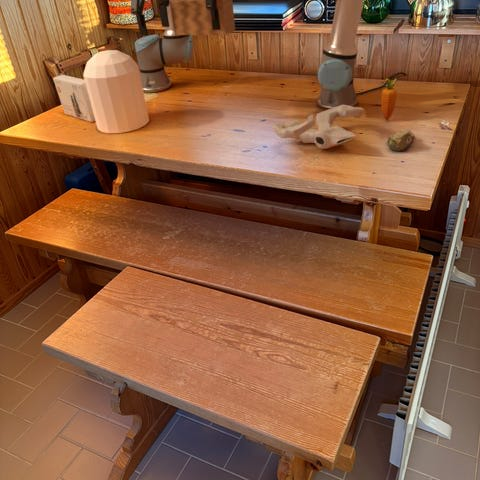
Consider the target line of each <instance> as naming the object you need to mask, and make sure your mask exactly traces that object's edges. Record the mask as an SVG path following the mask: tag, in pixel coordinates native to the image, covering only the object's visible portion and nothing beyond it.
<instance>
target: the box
mask: <svg viewBox="0 0 480 480" xmlns="http://www.w3.org/2000/svg"><path fill="white" fill-rule="evenodd" d="M170 7H171V13H172V19H173V25H174V31H175V35H192V36H226V35H228V34H232V33H233V32H235V31H236V24H235V22H236V21H235V14H234V13H235V12H234V2H233V0H217V8H216V9H218V14H219V22H220V30H213V28H212V20H211V12H210V10H207V8H206V0H174V1H171V2H170Z"/></svg>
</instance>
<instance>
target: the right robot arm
mask: <svg viewBox="0 0 480 480" xmlns="http://www.w3.org/2000/svg"><path fill="white" fill-rule="evenodd" d="M364 2H365V0H336V2H335V8H334V15H333V20H332V23H331V24H332V26H331V30H330V35H329V40H328V43H325V44H324V46H323V49H322V52H321V53H322V54H321V60H320V64H319V68H318V70H317V80H318V83H319V85H320V86H321V89H320V92H319V95H318V98H317V106H318V107H319V108H320V109H323V110H325V111H326V110H329V109H332V108H334V107H338V106H341V105H348V106H352V107H357V105H358V97H357V96H359V95H363V94H366V93H369V92H373V91H376V90H380V89H382V88H385V87H386V85H387V83H386V82H385V83H384V84H383V85H380V86H377V87H374V88H371V89H368V90H363V91H360V92H356V90H355V85H354V77H355V63H356V59H357V53H358V50H357V49H356V44H355V43H356V38H357V35H358V31H359V30H358V29H359V25H360V20H361V16H362V11H363V6H364ZM206 8H207V10H210V12H211V20H212V28H213V30H220V22H219V14H218V9H216V8H217V0H206ZM399 75H403V76H407V74H406V73H405V72H397V73H394V74H393V75H390V76H388V77H387V79H390V80H391V79H392V78H394V77H396V76H399Z"/></svg>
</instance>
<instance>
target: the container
mask: <svg viewBox="0 0 480 480" xmlns="http://www.w3.org/2000/svg"><path fill="white" fill-rule="evenodd" d="M82 75H83V79H84V80H85V84H86V87H87V91H88V95H89V98H90V102H91V106H92V110H93V113H94V117H95V121H94V122H95V124H96V128H97V130H98V131H100V132H101V133H106V134H122V133H123V134H124V133H128V132H132V131H136V130H139V129H141V128H142V127H144V126H147V124H148V123H149V122H150V116H149V112H148V108H147V102H146V97H145V92H143V87H142V82H141V77H140V69H139V64H138V62H136V61H135V60H134V58H132V56H130V55H128V54H126V53H124V52H123V51H120V50H117V49H107V50H103V51H98V52H97V53H95V54H93V55H92V57H90V59H88V60H87V62H86V65H85V67H84V70H83V74H82Z"/></svg>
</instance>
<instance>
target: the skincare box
mask: <svg viewBox="0 0 480 480" xmlns="http://www.w3.org/2000/svg"><path fill="white" fill-rule="evenodd" d="M52 79H53V83H54V85H55V89H56V92H57V94H58V97H59V101H60V104H61V106H62V110H63V112H64V114H65V115H67V116H71V117H74V118H77V119H80V120H83V121H87V122H90V123H94V122H96V121H95V117H94V113H93V110H92V106H91V102H90V98H89V95H88V91H87V87H86V84H85V80H84V78H78V77H74V76H70V75H66V74H60V75H58V76H54V77H52Z"/></svg>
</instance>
